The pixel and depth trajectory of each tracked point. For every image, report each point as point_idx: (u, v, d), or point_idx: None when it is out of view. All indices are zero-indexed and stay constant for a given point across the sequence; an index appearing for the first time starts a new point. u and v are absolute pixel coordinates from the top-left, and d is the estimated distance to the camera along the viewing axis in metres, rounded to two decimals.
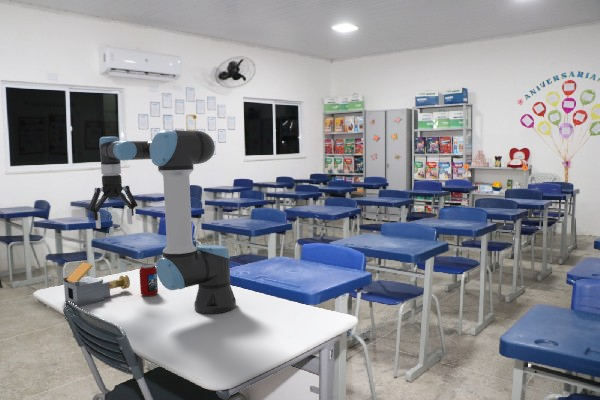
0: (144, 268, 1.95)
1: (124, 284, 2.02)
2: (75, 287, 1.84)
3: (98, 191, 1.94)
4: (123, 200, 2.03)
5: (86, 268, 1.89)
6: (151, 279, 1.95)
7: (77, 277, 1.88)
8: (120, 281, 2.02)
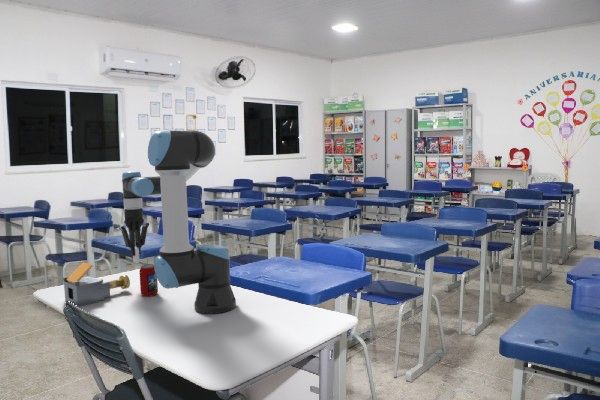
0: (144, 268, 1.95)
1: (124, 284, 2.02)
2: (75, 287, 1.84)
3: (124, 229, 2.02)
4: (136, 235, 2.07)
5: (86, 268, 1.89)
6: (151, 279, 1.95)
7: (77, 277, 1.88)
8: (120, 281, 2.02)
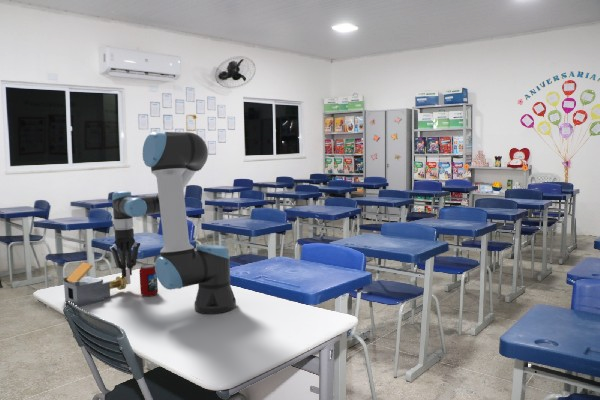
0: (143, 268, 1.95)
1: (120, 285, 2.01)
2: (75, 287, 1.84)
3: (114, 250, 1.99)
4: (127, 256, 2.04)
5: (86, 268, 1.89)
6: (151, 279, 1.95)
7: (77, 277, 1.88)
8: (116, 282, 2.00)
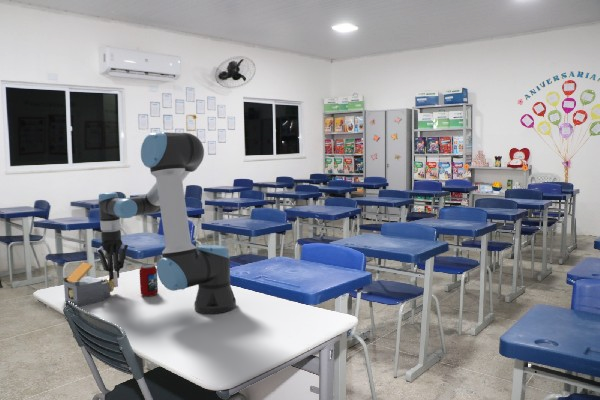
0: (144, 268, 1.95)
1: None
2: (75, 287, 1.84)
3: (101, 252, 1.95)
4: (114, 258, 2.00)
5: (86, 268, 1.89)
6: (151, 279, 1.95)
7: (77, 277, 1.88)
8: None
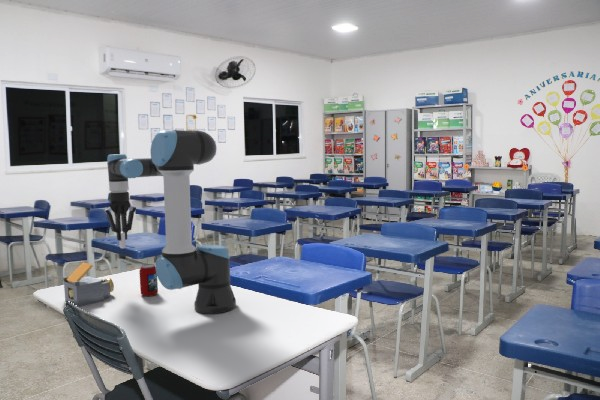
0: (143, 268, 1.95)
1: None
2: (75, 287, 1.84)
3: (108, 213, 1.97)
4: (122, 220, 2.02)
5: (86, 268, 1.89)
6: (151, 279, 1.95)
7: (77, 277, 1.88)
8: None
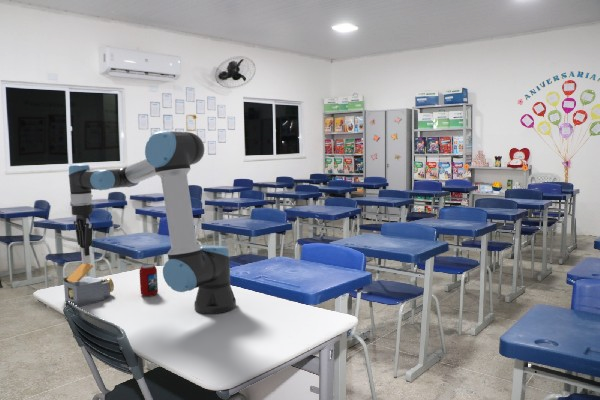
0: (144, 268, 1.95)
1: None
2: (75, 287, 1.84)
3: (74, 224, 1.93)
4: None
5: (86, 268, 1.90)
6: (151, 279, 1.95)
7: (77, 277, 1.88)
8: None
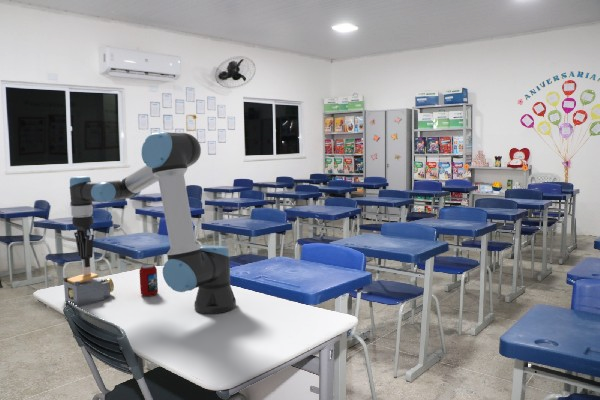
0: (144, 268, 1.95)
1: None
2: (75, 287, 1.84)
3: (75, 235, 1.94)
4: None
5: (91, 276, 1.91)
6: (151, 279, 1.95)
7: (79, 279, 1.88)
8: None
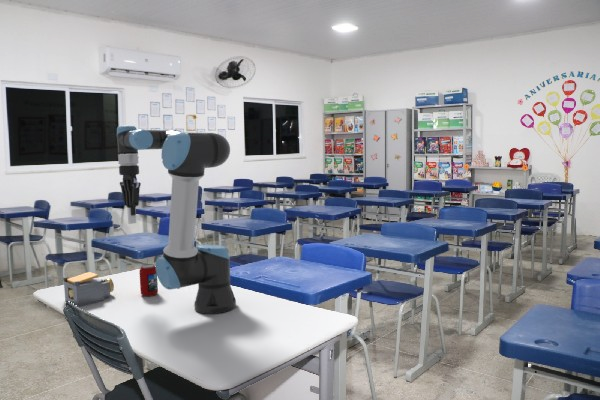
0: (144, 268, 1.95)
1: None
2: (75, 287, 1.84)
3: (121, 185, 1.98)
4: None
5: (91, 276, 1.91)
6: (151, 279, 1.95)
7: (79, 279, 1.88)
8: None
